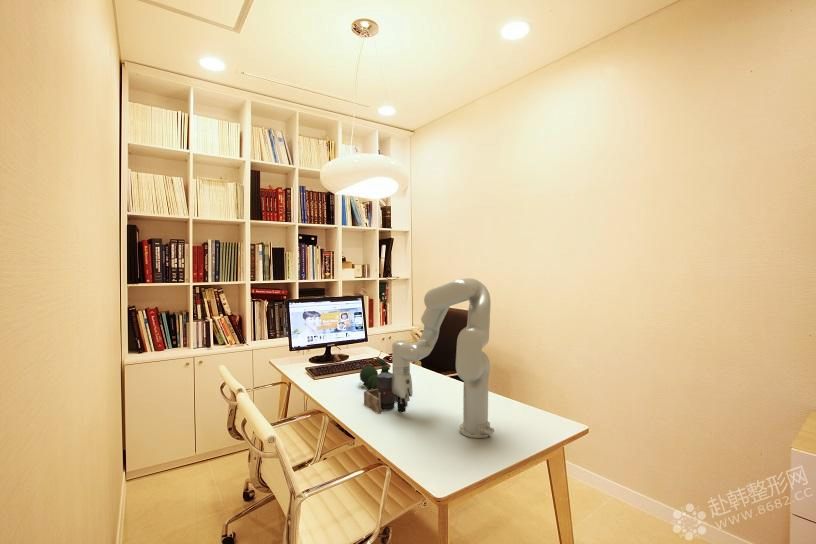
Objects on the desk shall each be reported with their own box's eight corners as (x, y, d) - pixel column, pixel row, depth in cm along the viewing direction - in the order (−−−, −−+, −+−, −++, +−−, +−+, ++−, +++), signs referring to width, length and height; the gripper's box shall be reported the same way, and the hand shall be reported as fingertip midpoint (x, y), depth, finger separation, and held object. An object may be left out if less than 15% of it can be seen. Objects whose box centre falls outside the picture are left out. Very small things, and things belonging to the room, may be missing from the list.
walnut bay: (407, 406, 171) (407, 386, 171) (378, 413, 162) (378, 393, 162) (392, 397, 182) (392, 379, 182) (364, 404, 173) (364, 385, 173)
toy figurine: (393, 397, 187) (368, 380, 207) (395, 360, 185) (370, 346, 205) (377, 401, 181) (353, 383, 201) (379, 363, 179) (354, 349, 199)
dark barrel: (394, 411, 165) (392, 378, 164) (376, 410, 166) (374, 378, 165) (397, 403, 173) (396, 372, 171) (380, 402, 174) (379, 371, 173)
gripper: (418, 372, 157) (418, 415, 158) (398, 364, 170) (399, 404, 170) (403, 375, 153) (404, 419, 154) (384, 367, 165) (385, 408, 166)
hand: (401, 411), depth 162 cm, fingers closed
